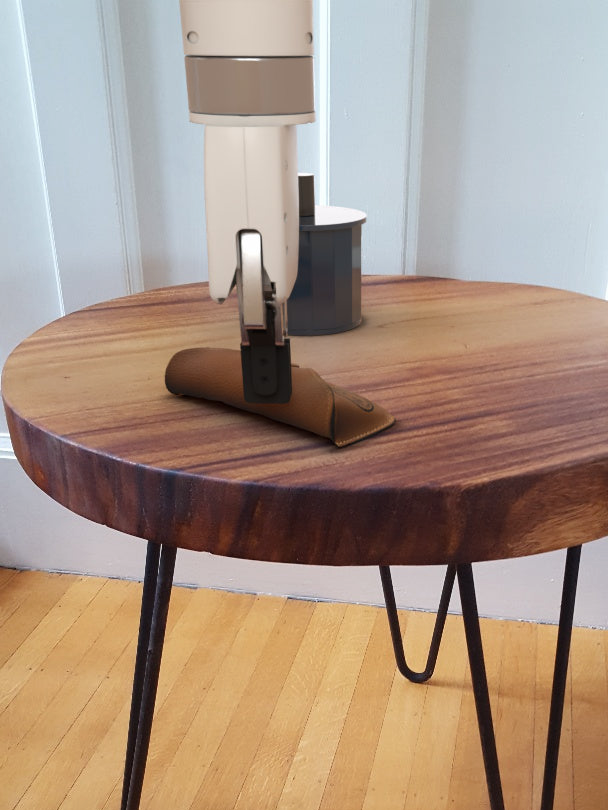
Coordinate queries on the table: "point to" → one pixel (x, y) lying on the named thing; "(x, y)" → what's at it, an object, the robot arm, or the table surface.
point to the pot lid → (323, 210)
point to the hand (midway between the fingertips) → (268, 399)
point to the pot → (327, 283)
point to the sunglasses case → (307, 408)
